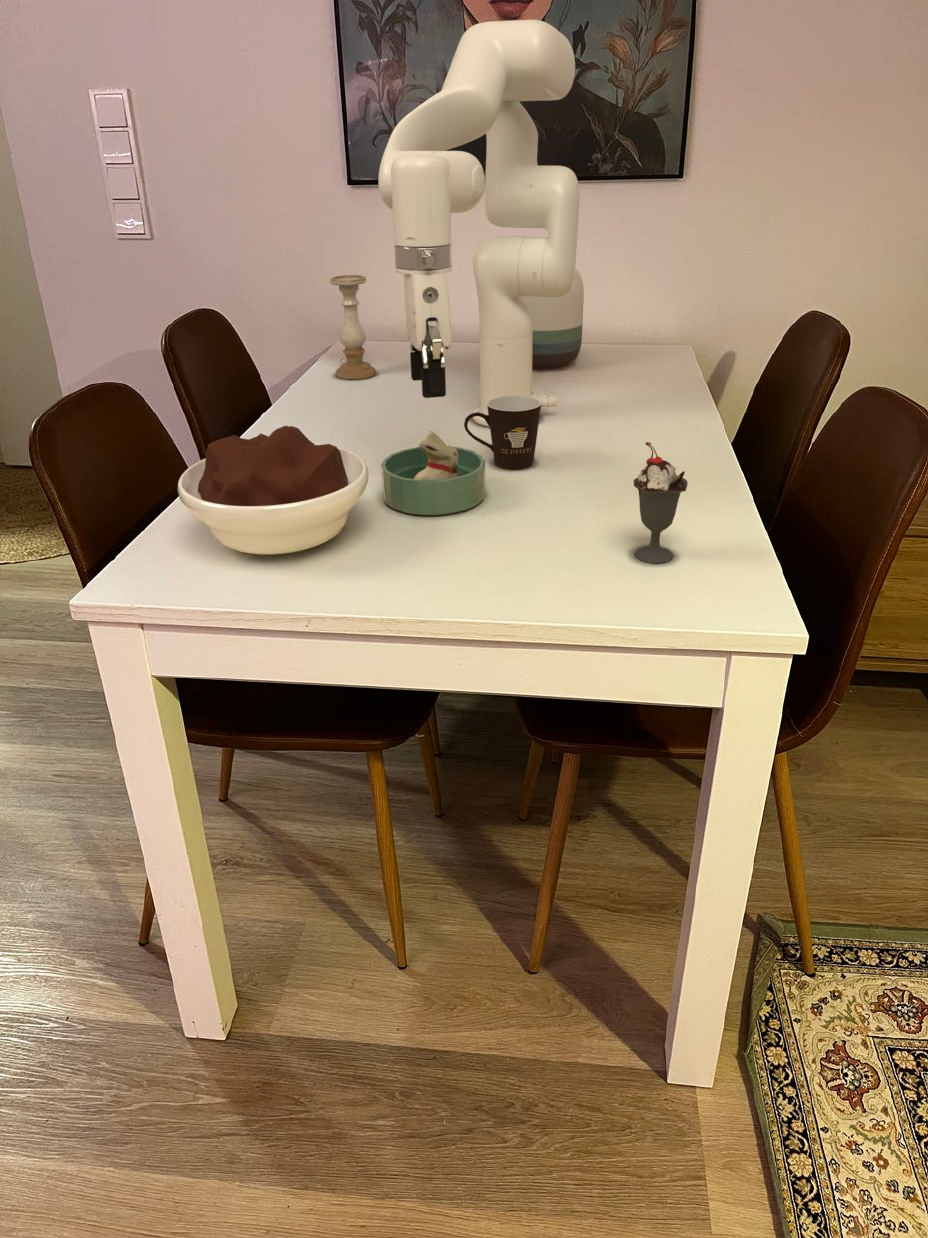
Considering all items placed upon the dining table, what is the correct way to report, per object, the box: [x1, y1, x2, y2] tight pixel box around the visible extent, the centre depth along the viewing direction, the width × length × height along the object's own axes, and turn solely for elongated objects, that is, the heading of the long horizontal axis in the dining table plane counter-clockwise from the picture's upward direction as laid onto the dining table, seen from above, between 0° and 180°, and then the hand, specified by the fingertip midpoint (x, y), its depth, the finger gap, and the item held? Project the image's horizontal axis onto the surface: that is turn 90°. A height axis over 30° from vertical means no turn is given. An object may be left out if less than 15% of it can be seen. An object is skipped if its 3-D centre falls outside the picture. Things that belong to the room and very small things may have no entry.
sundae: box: [632, 441, 689, 564], centre depth 114 cm, size 7×7×15 cm
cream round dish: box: [176, 425, 369, 556], centre depth 121 cm, size 25×25×15 cm
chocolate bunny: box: [414, 430, 459, 480], centre depth 134 cm, size 6×8×10 cm
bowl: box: [380, 446, 486, 516], centre depth 135 cm, size 15×15×6 cm
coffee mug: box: [463, 395, 542, 471], centre depth 147 cm, size 12×9×10 cm
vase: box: [520, 268, 585, 369], centre depth 198 cm, size 17×17×24 cm
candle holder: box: [329, 274, 377, 380], centre depth 195 cm, size 9×9×20 cm
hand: (428, 387), depth 129 cm, fingers open, 9 cm apart
